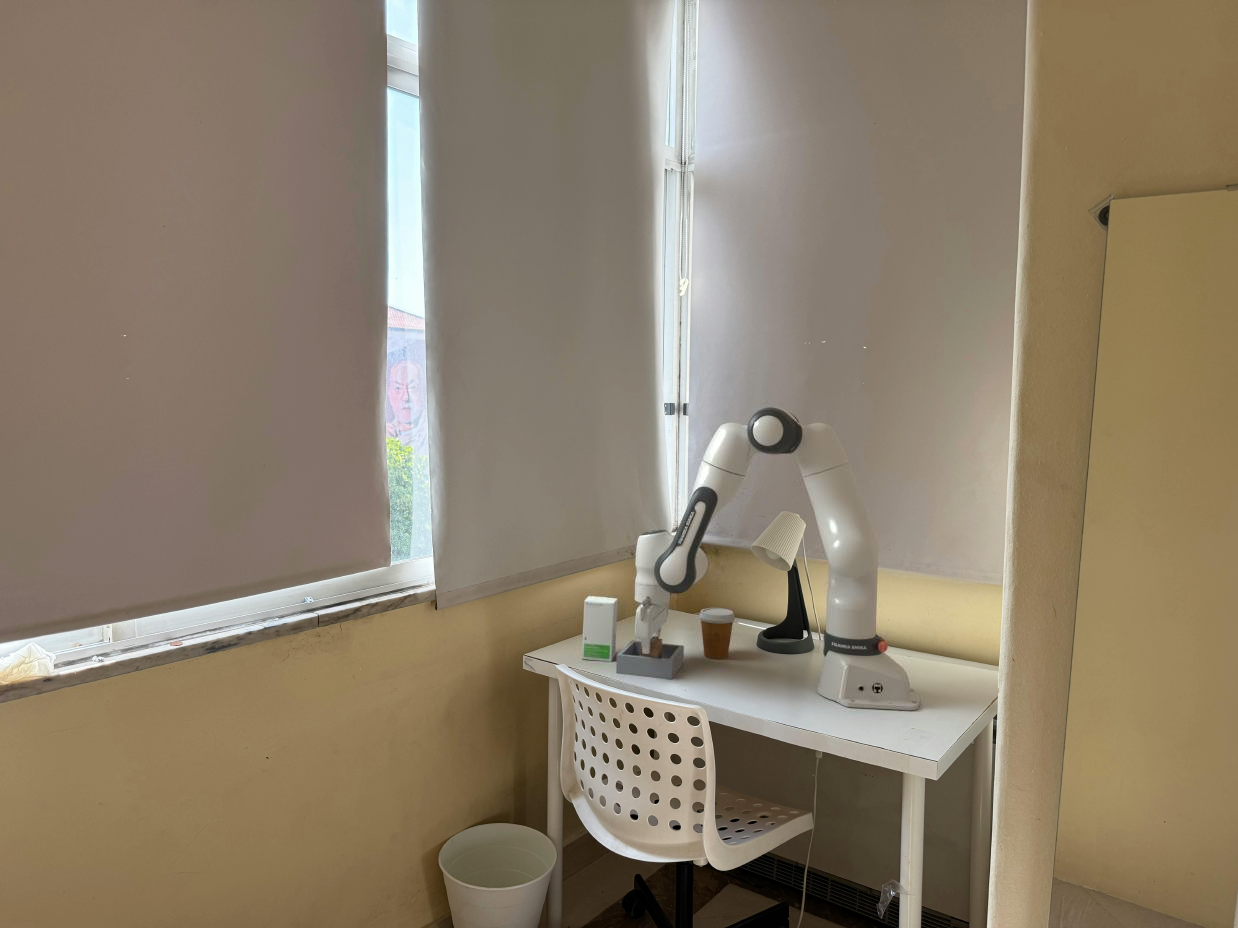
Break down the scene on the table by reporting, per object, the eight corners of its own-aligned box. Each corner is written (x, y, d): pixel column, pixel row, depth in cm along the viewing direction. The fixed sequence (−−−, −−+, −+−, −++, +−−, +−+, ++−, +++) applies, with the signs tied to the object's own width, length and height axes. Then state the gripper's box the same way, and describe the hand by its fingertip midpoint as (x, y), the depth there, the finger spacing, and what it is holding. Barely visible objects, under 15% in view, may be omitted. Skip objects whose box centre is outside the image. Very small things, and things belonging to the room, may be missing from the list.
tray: (683, 662, 197) (683, 645, 197) (671, 679, 183) (672, 660, 183) (631, 656, 201) (631, 640, 201) (616, 672, 187) (616, 654, 187)
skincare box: (581, 659, 198) (582, 600, 197) (586, 652, 204) (587, 595, 203) (612, 661, 196) (614, 602, 196) (617, 654, 203) (618, 596, 202)
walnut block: (661, 662, 194) (662, 638, 193) (657, 667, 189) (657, 643, 189) (644, 660, 195) (645, 637, 195) (639, 665, 191) (640, 641, 190)
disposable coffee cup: (718, 648, 210) (719, 605, 210) (741, 657, 202) (742, 613, 201) (690, 653, 205) (691, 609, 204) (713, 663, 197) (714, 617, 196)
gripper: (654, 603, 180) (653, 660, 181) (673, 586, 200) (672, 638, 201) (629, 601, 182) (627, 658, 183) (650, 585, 202) (649, 636, 202)
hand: (651, 647), depth 192 cm, fingers open, 8 cm apart
